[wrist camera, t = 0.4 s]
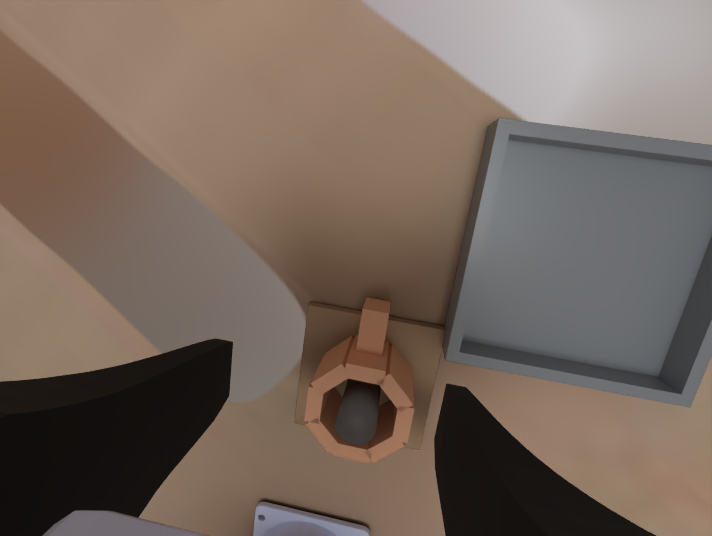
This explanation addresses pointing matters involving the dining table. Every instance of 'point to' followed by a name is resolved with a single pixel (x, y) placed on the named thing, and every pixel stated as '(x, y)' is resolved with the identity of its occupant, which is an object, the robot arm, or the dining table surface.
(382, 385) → the ring
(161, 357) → the robot arm
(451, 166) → the dining table surface
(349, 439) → the stake
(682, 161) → the tray
